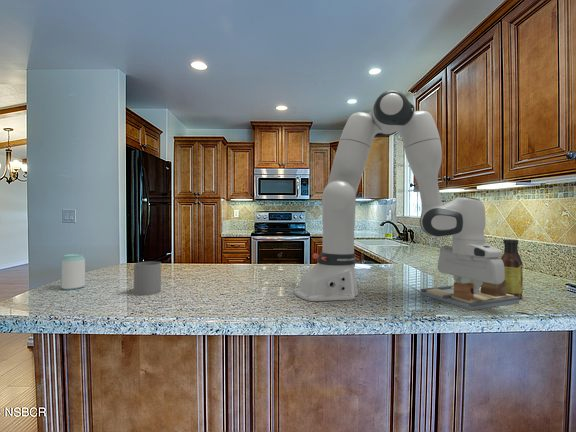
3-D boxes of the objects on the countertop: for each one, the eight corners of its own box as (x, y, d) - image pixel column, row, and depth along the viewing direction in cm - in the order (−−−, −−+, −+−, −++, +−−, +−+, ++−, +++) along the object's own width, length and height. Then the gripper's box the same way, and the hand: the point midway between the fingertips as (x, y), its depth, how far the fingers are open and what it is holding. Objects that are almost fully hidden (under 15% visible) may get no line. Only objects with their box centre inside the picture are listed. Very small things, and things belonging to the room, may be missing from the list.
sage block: (469, 290, 105) (469, 276, 105) (456, 287, 109) (456, 273, 109) (479, 289, 106) (479, 275, 106) (466, 286, 111) (466, 272, 111)
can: (82, 284, 113) (82, 252, 113) (87, 288, 108) (87, 254, 108) (59, 287, 108) (59, 254, 108) (63, 291, 103) (63, 256, 103)
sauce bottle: (526, 300, 100) (527, 240, 100) (505, 298, 101) (506, 239, 101) (515, 295, 106) (516, 238, 106) (496, 293, 108) (497, 238, 107)
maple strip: (471, 304, 90) (471, 286, 90) (450, 298, 97) (451, 281, 97) (514, 297, 98) (514, 281, 98) (492, 292, 105) (492, 277, 105)
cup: (128, 293, 102) (128, 264, 102) (148, 288, 109) (148, 260, 109) (147, 296, 99) (147, 266, 98) (165, 290, 106) (166, 262, 106)
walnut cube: (495, 296, 96) (496, 281, 96) (480, 292, 101) (480, 278, 101) (505, 295, 98) (506, 280, 98) (490, 291, 103) (490, 276, 103)
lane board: (471, 310, 88) (471, 304, 88) (420, 294, 106) (420, 288, 106) (519, 302, 97) (519, 297, 97) (464, 288, 114) (464, 284, 114)
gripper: (433, 245, 103) (432, 285, 103) (494, 252, 84) (493, 302, 84) (446, 244, 106) (446, 284, 106) (508, 251, 87) (507, 299, 87)
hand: (467, 292), depth 95 cm, fingers open, 3 cm apart
